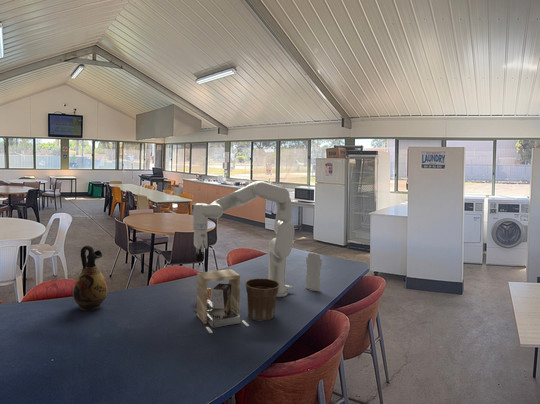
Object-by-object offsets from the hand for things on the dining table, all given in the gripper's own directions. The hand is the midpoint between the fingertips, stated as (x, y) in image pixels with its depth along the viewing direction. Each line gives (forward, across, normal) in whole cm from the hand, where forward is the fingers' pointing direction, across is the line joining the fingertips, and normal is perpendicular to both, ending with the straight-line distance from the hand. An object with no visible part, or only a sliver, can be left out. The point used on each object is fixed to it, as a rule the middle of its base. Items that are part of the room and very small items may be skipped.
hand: (199, 260), depth 201 cm
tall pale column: (+19, -13, -65) cm, 69 cm away
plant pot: (+20, -37, -20) cm, 46 cm away
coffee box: (+20, -34, -1) cm, 39 cm away
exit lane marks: (+20, -41, -1) cm, 46 cm away
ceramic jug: (+21, +8, +52) cm, 57 cm away
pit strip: (+20, -18, -1) cm, 27 cm away
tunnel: (+20, -29, -1) cm, 35 cm away
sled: (+20, -24, -1) cm, 31 cm away
